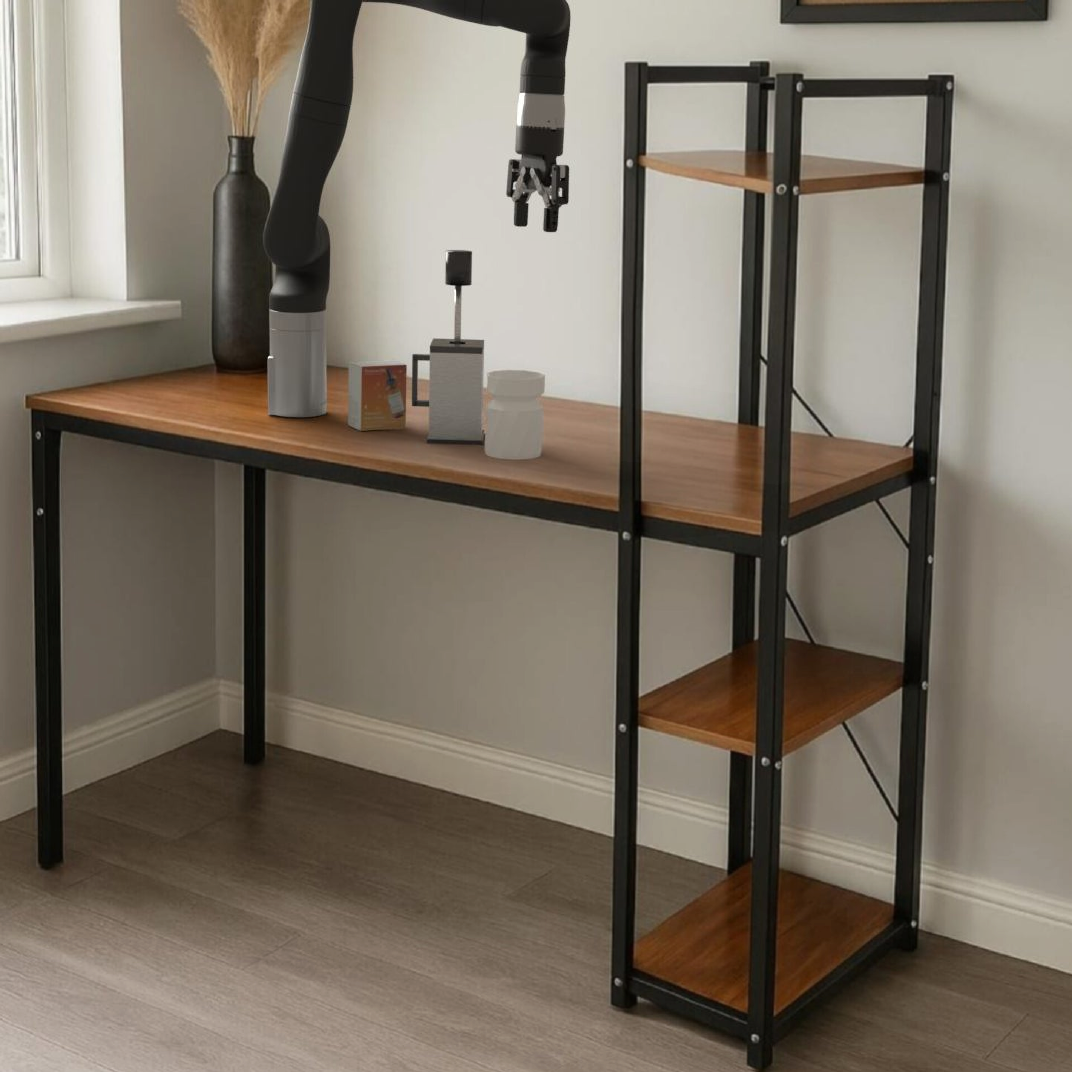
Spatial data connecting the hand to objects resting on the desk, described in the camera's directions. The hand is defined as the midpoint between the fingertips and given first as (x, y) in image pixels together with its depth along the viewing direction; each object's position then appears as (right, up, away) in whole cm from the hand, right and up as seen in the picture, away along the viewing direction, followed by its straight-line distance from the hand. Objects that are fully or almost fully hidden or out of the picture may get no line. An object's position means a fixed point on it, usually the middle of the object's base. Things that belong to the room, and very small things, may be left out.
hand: (535, 229), depth 266 cm
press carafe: (-14, -33, -3) cm, 36 cm away
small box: (-25, -31, +3) cm, 41 cm away
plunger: (-12, -26, -5) cm, 29 cm away
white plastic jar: (-3, -36, -13) cm, 39 cm away
